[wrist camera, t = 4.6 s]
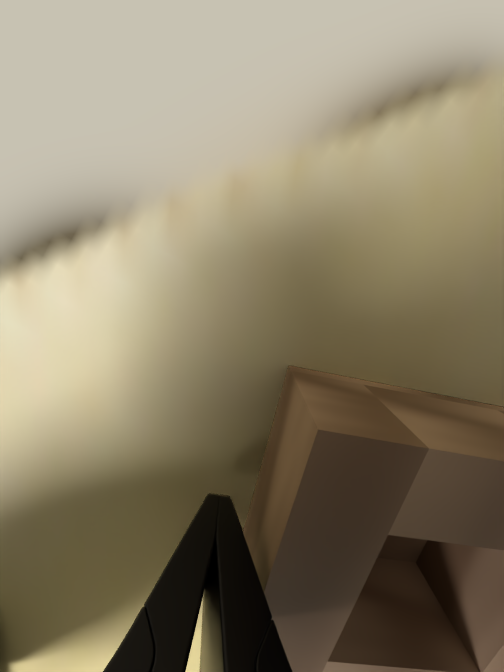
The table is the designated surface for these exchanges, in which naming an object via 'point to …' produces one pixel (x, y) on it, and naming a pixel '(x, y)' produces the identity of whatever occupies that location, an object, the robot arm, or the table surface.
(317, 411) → the pocket block
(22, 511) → the table surface
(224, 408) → the table surface
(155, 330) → the table surface
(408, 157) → the table surface
